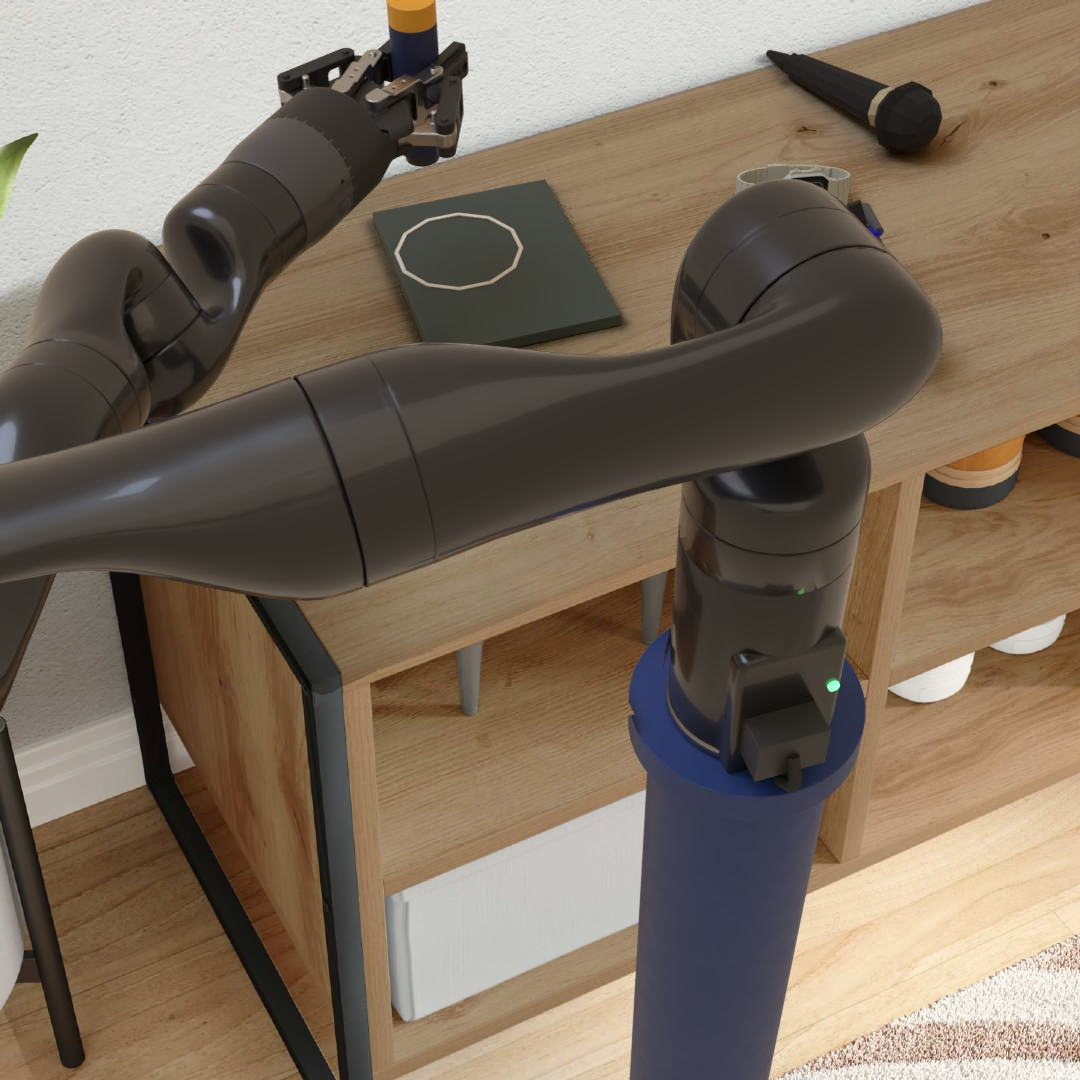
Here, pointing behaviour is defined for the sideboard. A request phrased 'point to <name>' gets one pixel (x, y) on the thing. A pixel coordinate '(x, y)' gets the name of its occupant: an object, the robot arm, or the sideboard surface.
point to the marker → (413, 52)
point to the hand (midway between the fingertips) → (436, 48)
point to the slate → (495, 268)
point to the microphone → (870, 101)
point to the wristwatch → (800, 177)
